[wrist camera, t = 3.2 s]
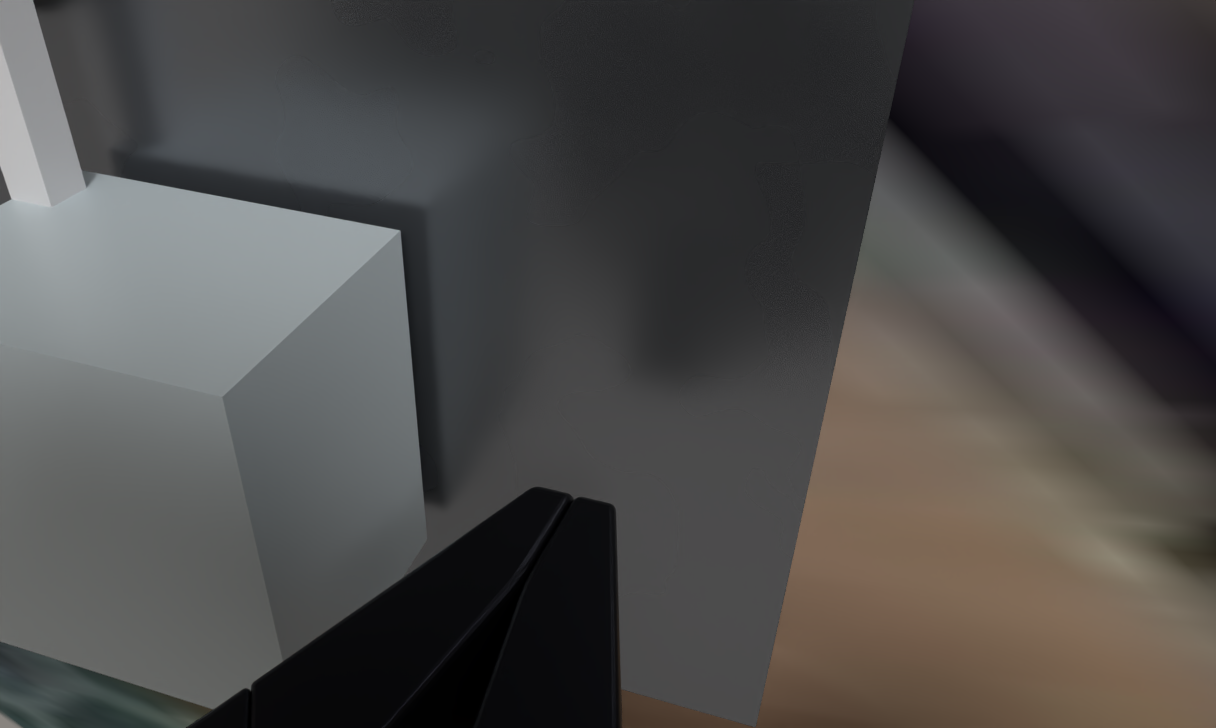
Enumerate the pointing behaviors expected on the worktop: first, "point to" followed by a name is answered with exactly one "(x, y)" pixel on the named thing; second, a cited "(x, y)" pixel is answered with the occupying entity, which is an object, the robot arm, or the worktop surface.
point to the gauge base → (558, 248)
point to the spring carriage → (188, 413)
